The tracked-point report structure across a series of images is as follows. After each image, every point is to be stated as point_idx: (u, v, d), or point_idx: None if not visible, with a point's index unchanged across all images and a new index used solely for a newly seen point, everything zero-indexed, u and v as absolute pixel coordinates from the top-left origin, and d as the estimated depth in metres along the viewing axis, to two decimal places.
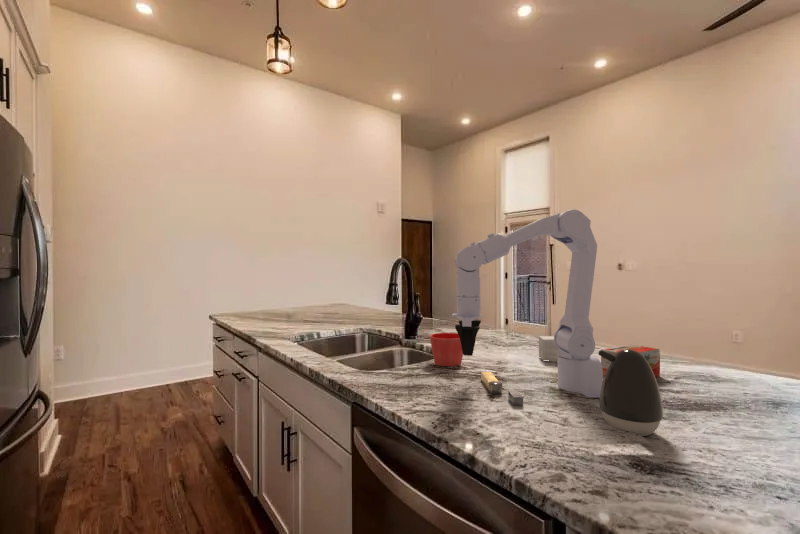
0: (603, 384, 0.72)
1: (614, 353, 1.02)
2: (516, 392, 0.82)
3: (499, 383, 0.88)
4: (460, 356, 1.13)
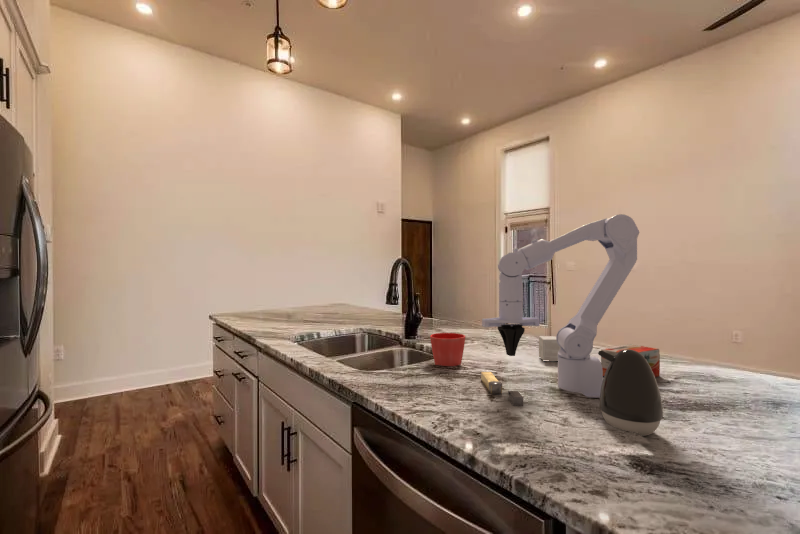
0: (603, 384, 0.72)
1: (614, 353, 1.02)
2: (516, 392, 0.82)
3: (499, 383, 0.88)
4: (460, 356, 1.13)
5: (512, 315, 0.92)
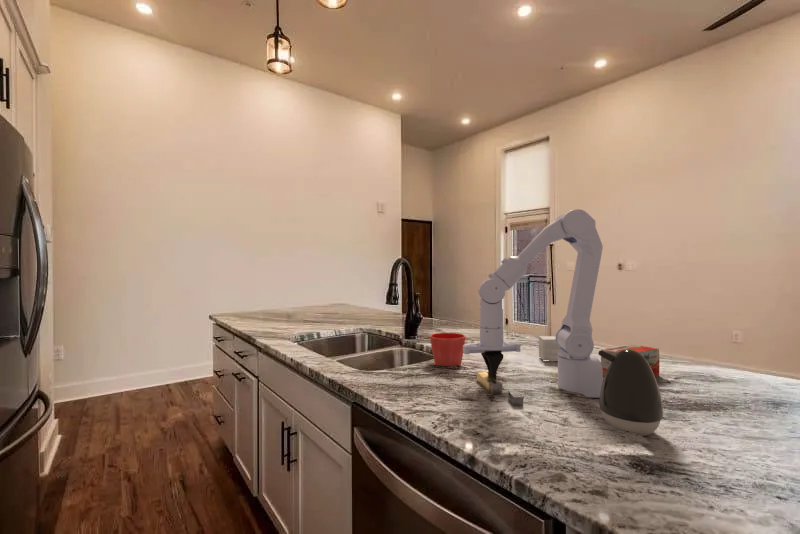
0: (603, 384, 0.72)
1: (614, 353, 1.02)
2: (516, 392, 0.82)
3: (499, 383, 0.88)
4: (460, 356, 1.13)
5: (492, 342, 0.92)
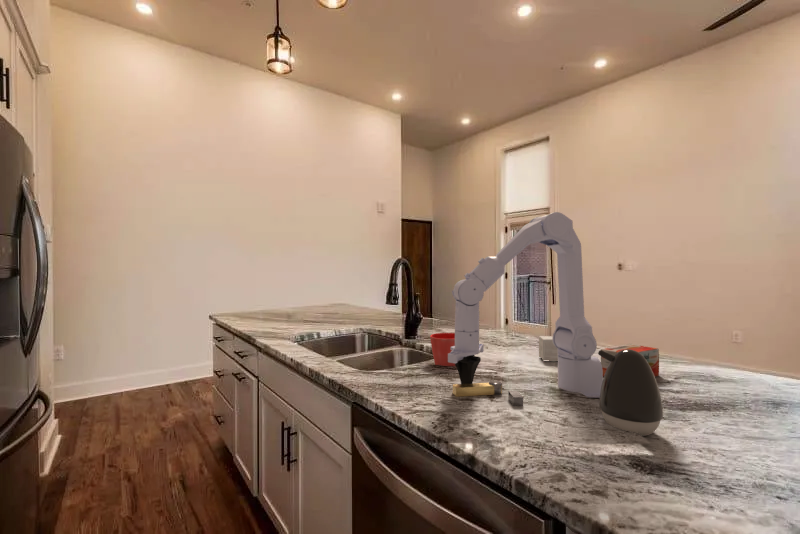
0: (603, 384, 0.72)
1: (614, 353, 1.02)
2: (516, 392, 0.82)
3: (494, 381, 0.89)
4: None
5: (475, 346, 0.87)
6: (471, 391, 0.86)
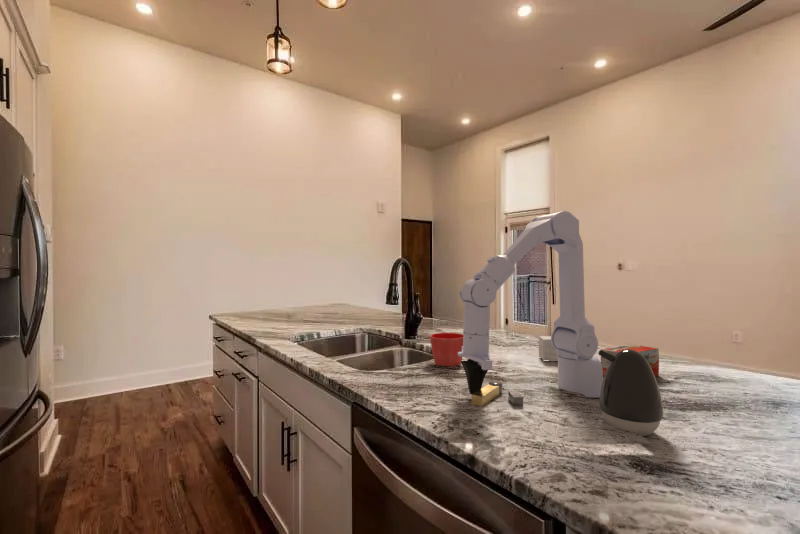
0: (603, 384, 0.72)
1: (614, 353, 1.02)
2: (516, 392, 0.82)
3: (492, 382, 0.89)
4: None
5: (488, 348, 0.84)
6: (489, 396, 0.82)
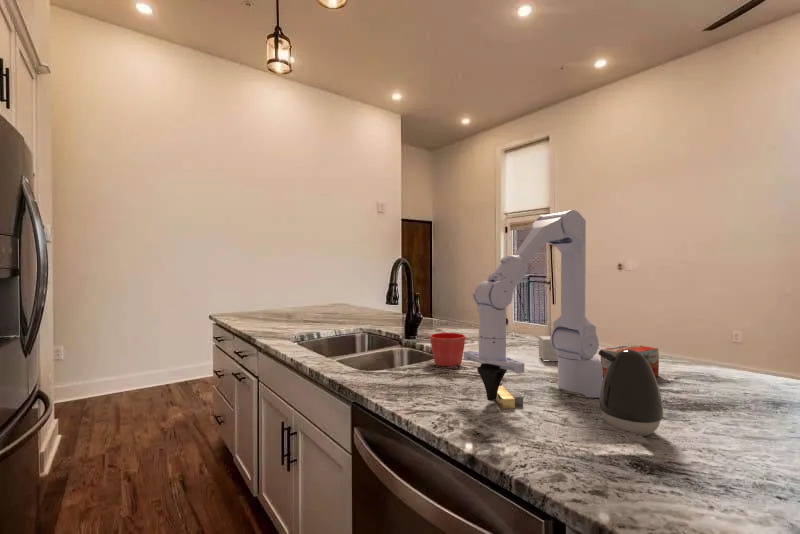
0: (603, 384, 0.72)
1: (614, 353, 1.03)
2: (516, 392, 0.82)
3: None
4: (460, 356, 1.13)
5: None
6: None
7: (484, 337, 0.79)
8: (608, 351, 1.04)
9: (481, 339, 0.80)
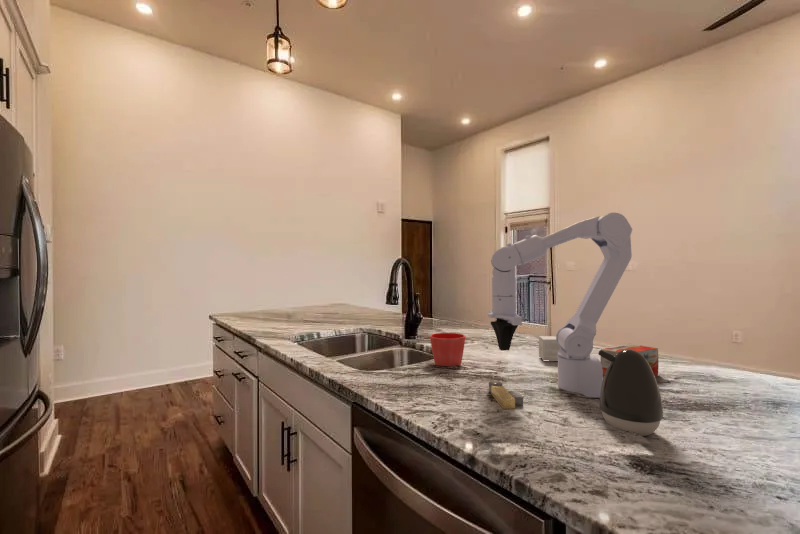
0: (603, 384, 0.72)
1: (613, 352, 1.03)
2: (516, 392, 0.82)
3: (491, 382, 0.88)
4: (460, 356, 1.13)
5: None
6: None
7: (493, 295, 0.94)
8: (608, 351, 1.04)
9: (492, 297, 0.95)
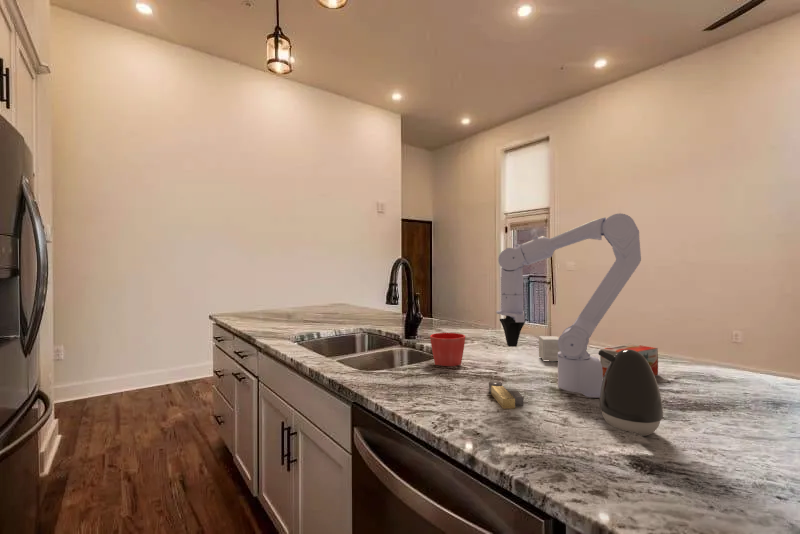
0: (603, 384, 0.72)
1: (613, 352, 1.03)
2: (516, 392, 0.82)
3: (491, 382, 0.88)
4: (460, 356, 1.13)
5: None
6: None
7: (501, 293, 0.99)
8: (608, 351, 1.04)
9: None
